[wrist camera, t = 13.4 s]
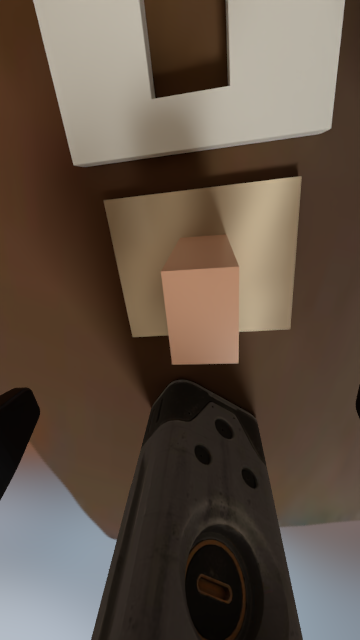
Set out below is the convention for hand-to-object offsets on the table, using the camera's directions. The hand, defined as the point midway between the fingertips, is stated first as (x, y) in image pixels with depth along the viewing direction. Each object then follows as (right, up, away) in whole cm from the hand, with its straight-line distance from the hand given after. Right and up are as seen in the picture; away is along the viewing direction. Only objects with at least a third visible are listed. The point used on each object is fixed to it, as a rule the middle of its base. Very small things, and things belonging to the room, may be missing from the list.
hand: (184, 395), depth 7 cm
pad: (+2, +6, +12) cm, 13 cm away
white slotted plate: (0, +17, +6) cm, 18 cm away
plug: (+2, +6, +11) cm, 12 cm away
